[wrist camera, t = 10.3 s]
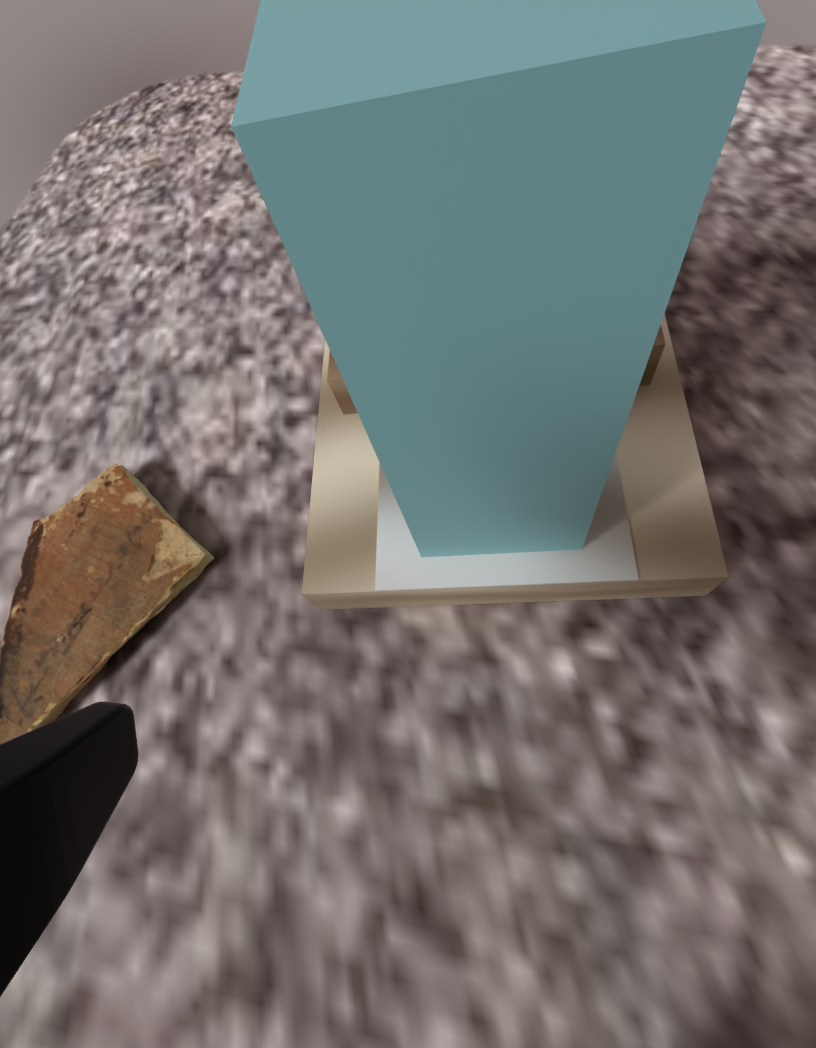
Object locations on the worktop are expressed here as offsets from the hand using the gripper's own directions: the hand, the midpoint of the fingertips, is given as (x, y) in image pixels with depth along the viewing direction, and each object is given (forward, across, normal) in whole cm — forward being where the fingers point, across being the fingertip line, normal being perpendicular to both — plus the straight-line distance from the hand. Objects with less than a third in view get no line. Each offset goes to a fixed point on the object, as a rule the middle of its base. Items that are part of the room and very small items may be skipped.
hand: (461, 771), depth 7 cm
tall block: (+12, -1, -1) cm, 12 cm away
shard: (+12, +13, +5) cm, 19 cm away
